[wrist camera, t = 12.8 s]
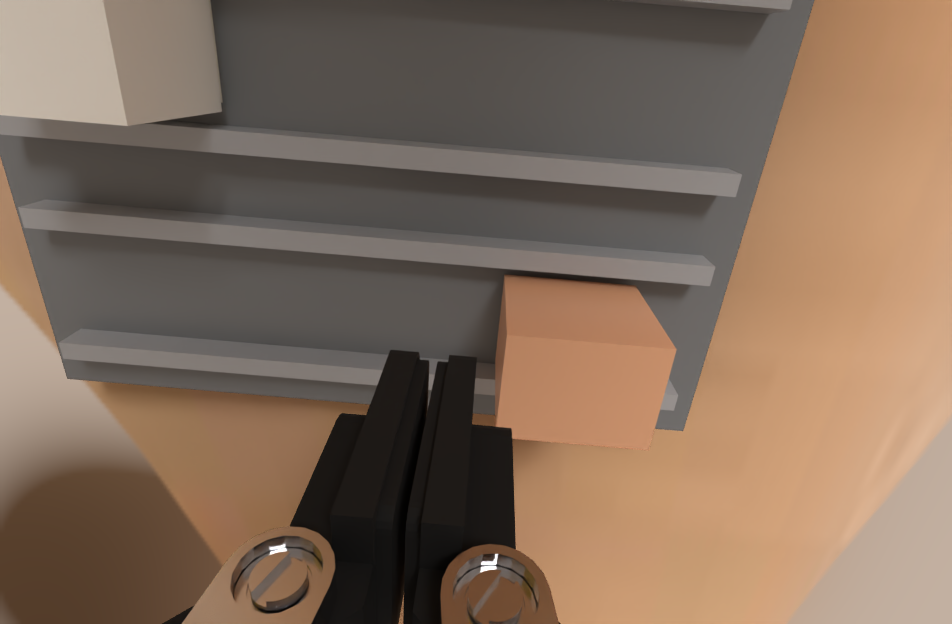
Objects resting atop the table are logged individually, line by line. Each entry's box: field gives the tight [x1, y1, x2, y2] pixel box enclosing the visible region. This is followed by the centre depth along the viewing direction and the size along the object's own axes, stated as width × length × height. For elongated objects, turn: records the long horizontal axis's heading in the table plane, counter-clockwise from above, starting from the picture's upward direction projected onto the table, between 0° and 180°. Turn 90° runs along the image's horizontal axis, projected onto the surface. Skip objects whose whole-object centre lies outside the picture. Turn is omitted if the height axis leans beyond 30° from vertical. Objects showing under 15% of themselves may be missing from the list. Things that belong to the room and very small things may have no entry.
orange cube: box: [495, 274, 677, 450], centre depth 15 cm, size 3×4×4 cm
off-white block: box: [0, 0, 222, 126], centre depth 12 cm, size 3×4×4 cm
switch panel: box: [0, 0, 814, 431], centre depth 16 cm, size 15×22×3 cm
